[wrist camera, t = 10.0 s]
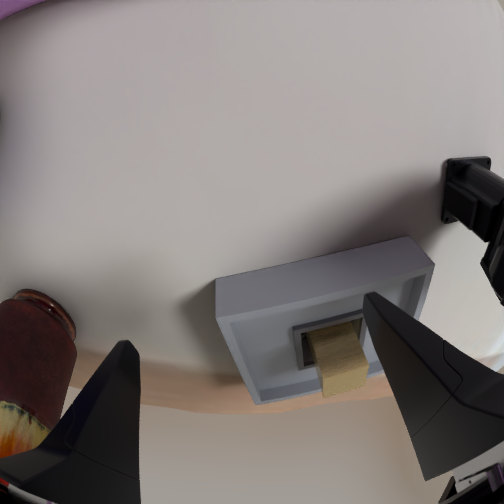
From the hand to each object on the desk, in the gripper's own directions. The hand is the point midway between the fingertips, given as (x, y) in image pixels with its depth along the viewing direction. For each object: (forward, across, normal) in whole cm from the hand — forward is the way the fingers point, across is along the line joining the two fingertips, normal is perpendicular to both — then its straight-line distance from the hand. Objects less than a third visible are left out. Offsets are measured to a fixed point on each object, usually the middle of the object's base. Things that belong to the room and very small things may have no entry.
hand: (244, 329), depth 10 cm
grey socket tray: (+12, -6, +15) cm, 20 cm away
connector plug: (+12, -6, +15) cm, 20 cm away
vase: (+12, +24, +8) cm, 29 cm away
